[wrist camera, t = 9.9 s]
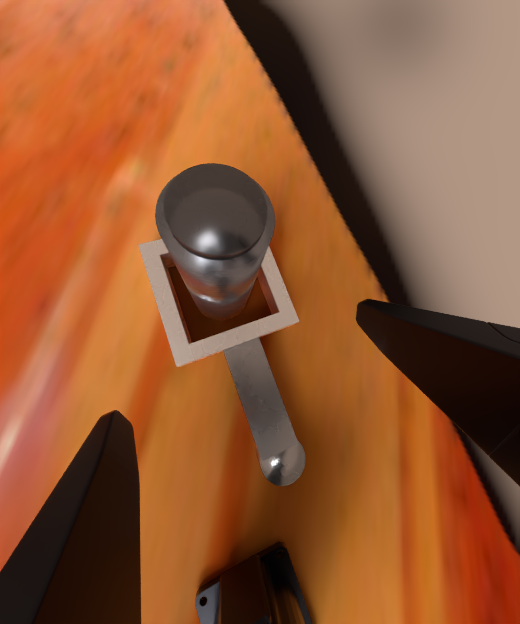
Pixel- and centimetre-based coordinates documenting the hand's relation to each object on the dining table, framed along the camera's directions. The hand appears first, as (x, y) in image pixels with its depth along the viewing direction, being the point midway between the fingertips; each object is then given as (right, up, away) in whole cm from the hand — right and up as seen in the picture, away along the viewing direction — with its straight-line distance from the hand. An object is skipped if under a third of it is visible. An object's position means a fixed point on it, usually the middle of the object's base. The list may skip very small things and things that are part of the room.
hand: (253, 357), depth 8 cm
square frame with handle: (-1, -1, +11) cm, 11 cm away
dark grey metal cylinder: (-3, +3, +12) cm, 12 cm away
